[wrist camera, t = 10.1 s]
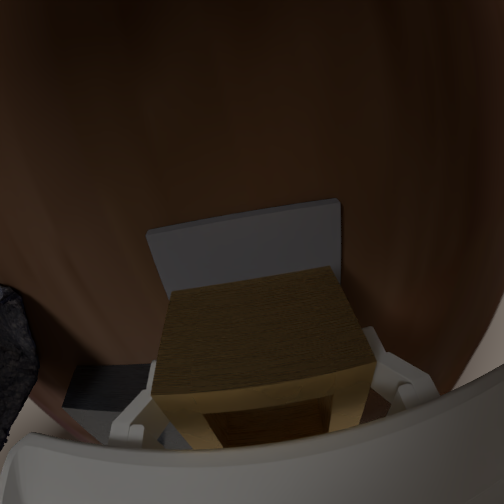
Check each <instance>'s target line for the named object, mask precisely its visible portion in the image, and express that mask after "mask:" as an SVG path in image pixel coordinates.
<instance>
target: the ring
mask: <svg viewBox="0 0 504 504" xmlns="http://www.w3.org/2000/svg"><path fill="white" fill-rule="evenodd" d="M376 364H377V360H376V358H375V356H374V354H373V351H372V349H371V347H370V345H369V343H368V341H367V339H366V337H365V334H364V332H363V330H362V328H361V326H360V324H359V322H358V320H357V318H356V316H355V314H354V312H353V310H352V308H351V306H350V304H349V302H348V300H347V298H346V296H345V294H344V292H343V290H342V288H341V286H340V284H339V282H338V280H337V278H336V276H335V274H334V273H333V271H332V269H331V267H330V266H324V267H318V268H313V269H307V270H301V271H296V272H290V273H284V274H278V275H272V276H266V277H260V278H254V279H248V280H242V281H236V282H229V283H223V284H216V285H210V286H203V287H197V288H190V289H183V290H177V291H172V292H171V297H170V301H169V305H168V310H167V314H166V318H165V323H164V328H163V332H162V337H161V342H160V347H159V352H158V357H157V362H156V367H155V372H154V378H153V383H152V389H151V394H150V396H151V397H152V398H153V400H154V401H155V402H156V404H157V405H158V406H159V408H160V409H161V410H162V412H163V413H164V414H165V416H166V417H167V418H168V419H169V421H170V422H171V423H172V424H173V426H174V427H175V428H176V429H177V431H178V432H179V433H180V434H181V435H182V437H183V438H184V439H185V440H186V441H187V442H188V444H189V445H190V446H191V447H192V448H193V449H216V448H231V447H242V446H252V445H260V444H268V443H275V442H282V441H288V440H294V439H300V438H305V437H310V436H315V435H320V434H324V433H329V432H333V431H337V430H341V429H345V428H349V427H353V426H356V425H359V422H360V419H361V416H362V413H363V410H364V407H365V403H366V400H367V397H368V393H369V390H370V386H371V383H372V379H373V375H374V372H375V368H376Z"/></svg>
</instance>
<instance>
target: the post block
mask: <svg viewBox="0 0 504 504" xmlns="http://www.w3.org/2000/svg"><path fill="white" fill-rule="evenodd" d="M150 367H151V364H137V365H110V366H76V369H75V371H74V374H73V377H72V379H71V382H70V385H69V388H68V390H67V393H66V396H65V399H64V402H63V405H62V408H63V409H64V410H65V411H66V412H67V413H68V414H69V415H70V416H71V417H72V418H73V419H74V420H76V421H77V422H78V423H79V424H80V425H81V426H82V427H83V428H84V429H85V430H87V431H88V432H89V433H90V434H91V435H92V436H94V437H95V438H96V439H97V440H98V441H99V442H101V443H102V444H103V445H108V440H109V436H110V431H111V426H112V422H113V421H114V420H115V419H116V418H117V417H118V416H119V415H120V414H121V413H122V412H123V411H124V410H125V408H126V407H127V406H128V405H129V404H130V403H131V402H132V401H133V400H134V399H135V398H136V397H137V396H138V395H139V394H140V392H141V391H142V390H146V387H147V382H148V377H149V372H150ZM157 441H158V442H159V443H160V444H161V445H162V446H163V447H164V448H165V449H174V450H184V449H193V448H192V447H191V446H190V445H189V444H188V442H187V441H186V440H185V439H184V438H183V437H182V435H181V434H180V433H179V432H178V431H177V429H176V428H175V427H174V426H173V424H172V423H171V422H169V423H168V425H167V426H166V428H165V429H164V430H163V432H162V433H161V435H160V436H159V438H158V439H157Z"/></svg>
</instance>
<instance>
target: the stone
mask: <svg viewBox="0 0 504 504" xmlns="http://www.w3.org/2000/svg"><path fill="white" fill-rule="evenodd" d="M23 309H24V305H23V302H22V297H21V296H19V295H18V294H17V293H15V292H14V291H13V290H12V289H11V288H10V287H4V286H1V285H0V451H1V450H2V448H3V447H4V443H7V439H6V438H7V436H9V435H10V434H9V431H10V428H11V425H12V424H13V423H14V421H15V419H16V418H17V416H18V414H19V412H20V411H21V409H22V407H23V406H24V403H25V401H26V400H27V398H28V395H29V394H30V392H31V390H32V388H33V386H34V385H35V383H36V381H37V379H38V377H37V376H38V369H39V367H40V365H39V360H38V356H37V354H36V351H35V350H36V345H35V342H34V340H32V337H31V332H30V330H29V326H28V321H27V318H26V315H25V311H24V310H23ZM14 345H15V346H14ZM15 347H17V348H18V349H19V350H18V349H17V348H15Z"/></svg>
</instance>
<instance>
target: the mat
mask: <svg viewBox="0 0 504 504" xmlns="http://www.w3.org/2000/svg"><path fill="white" fill-rule="evenodd" d="M146 239H147V242H148V245H149V247H150V250H151V253H152V256H153V259H154V262H155V264H156V267H157V270H158V272H159V275H160V278H161V281H162V283H163V286H164V288H165V291H166V294H167V296H168V299H169V301H170V297H171V292H172V291H177V290H183V289H190V288H197V287H203V286H210V285H216V284H223V283H229V282H236V281H242V280H248V279H254V278H260V277H266V276H272V275H278V274H284V273H290V272H296V271H301V270H307V269H313V268H318V267H324V266H330V267H331V269H332V271H333V273H334V274H335V276H336V278H337V280H338V282H339V284H340V281H341V206H340V202H339V200H338V199H337V198H332V199H325V200H318V201H311V202H304V203H298V204H291V205H285V206H278V207H272V208H266V209H260V210H254V211H248V212H242V213H236V214H230V215H224V216H219V217H213V218H208V219H202V220H197V221H191V222H186V223H181V224H176V225H171V226H166V227H161V228H156V229H151V230H148V232H147V234H146Z"/></svg>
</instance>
